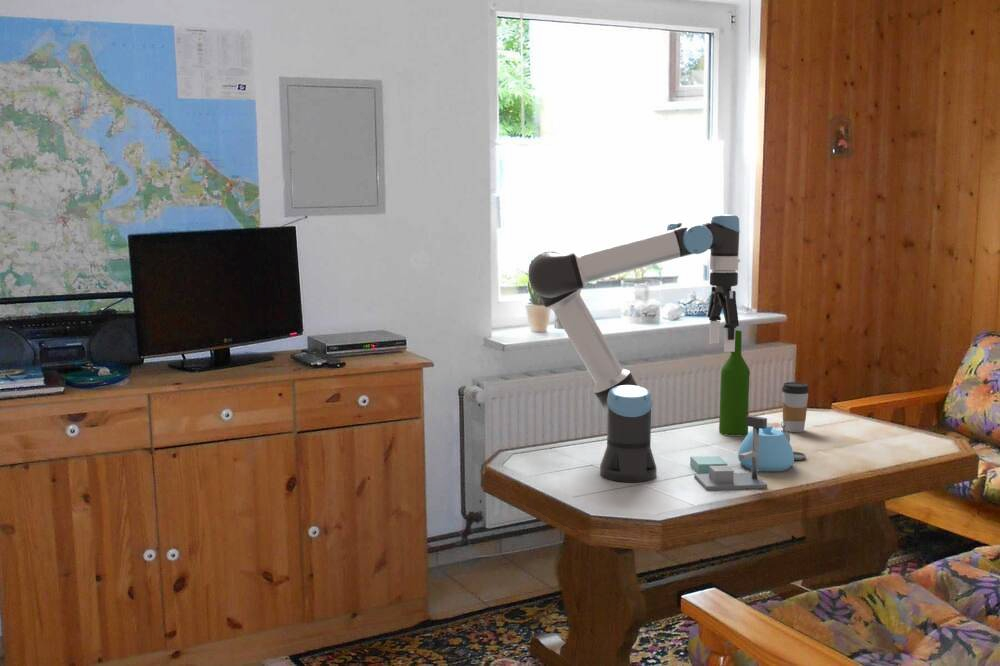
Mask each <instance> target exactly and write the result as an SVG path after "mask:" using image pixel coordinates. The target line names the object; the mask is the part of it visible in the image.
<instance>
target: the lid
mask: <svg viewBox="0 0 1000 666" xmlns="http://www.w3.org/2000/svg"><path fill="white" fill-rule="evenodd" d="M689 462H690V463H689V465H690V467H691V468H692V469H693V470H694V471H695V472H696V474H709V466H728V463H727V462H726V461H725V460H724V459H722V458H721V456H719V455H701V456H699V455H697V456H696V455H695V456H693V455H692V456H690V461H689Z"/></svg>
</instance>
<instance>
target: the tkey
mask: <svg viewBox="0 0 1000 666" xmlns="http://www.w3.org/2000/svg"><path fill="white" fill-rule="evenodd" d="M767 425H768V418H767V417H761V416H758V415H757V416H756V415H752V414H749V416H746V426H748V427H752V430H753V445H752V450H751V451H748V452H745V453H742V454H740V455H739V458H738V460H739V459H742V460H746V459H749V458H751V457H752V470H751V472H750V473H751V478H753V479H757V478H758V477H759V476H758V475H759V471H758V453H759V429H760V428H761V429H764V428H767Z"/></svg>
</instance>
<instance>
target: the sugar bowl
mask: <svg viewBox="0 0 1000 666" xmlns="http://www.w3.org/2000/svg"><path fill="white" fill-rule="evenodd" d="M752 445H753V429H751V430H749V431H748V433H747V435H745V437H744V439H743V440H742V442H741V444H740V447H739V449H738V454H737V455H738V456H737V457H738V461H739V462H740V463H741V465H742V466H743V467H744V466H745V467H744V468H746V467H747V468H746V469H748V468H749V470H751V469H752V457H751V458H749V459H746V460H742V459H739V455H740V454H742V453H745V452H748V451H751V450H752ZM793 452H794V450H793V447H792V446H791V442H790V443H789V441H788V440H787V438H786V436H785V435H784V433H783V432H781V430H779V429H774V428H773V425H771V424H767V428H764V429H761V428H759V453H758V470H759V471H758V472H762V471H780V472H783V471H782V470H785V471H787V470H788V469H790V468H791V466H793V464H794V463H795V460H794V455H793ZM786 469H787V470H786Z"/></svg>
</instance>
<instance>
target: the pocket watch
mask: <svg viewBox="0 0 1000 666" xmlns="http://www.w3.org/2000/svg"><path fill="white" fill-rule="evenodd" d="M784 423H785V422H784ZM780 426H781V428H782V430H780V431H781V432H783V433H784V435H785V436H786V438H787V440H788V441H789V443H790V444H791V442H790V441H791V436H790V435H791V434H790V432H788V431H787V430H785V426H786V423H785V425H783V421H782V422H781V423H780ZM793 455H794V461H800V460H801V461H802V460H805V459H806V457H807V456H806V454H805V453H803V452H799V451H793Z"/></svg>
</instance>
